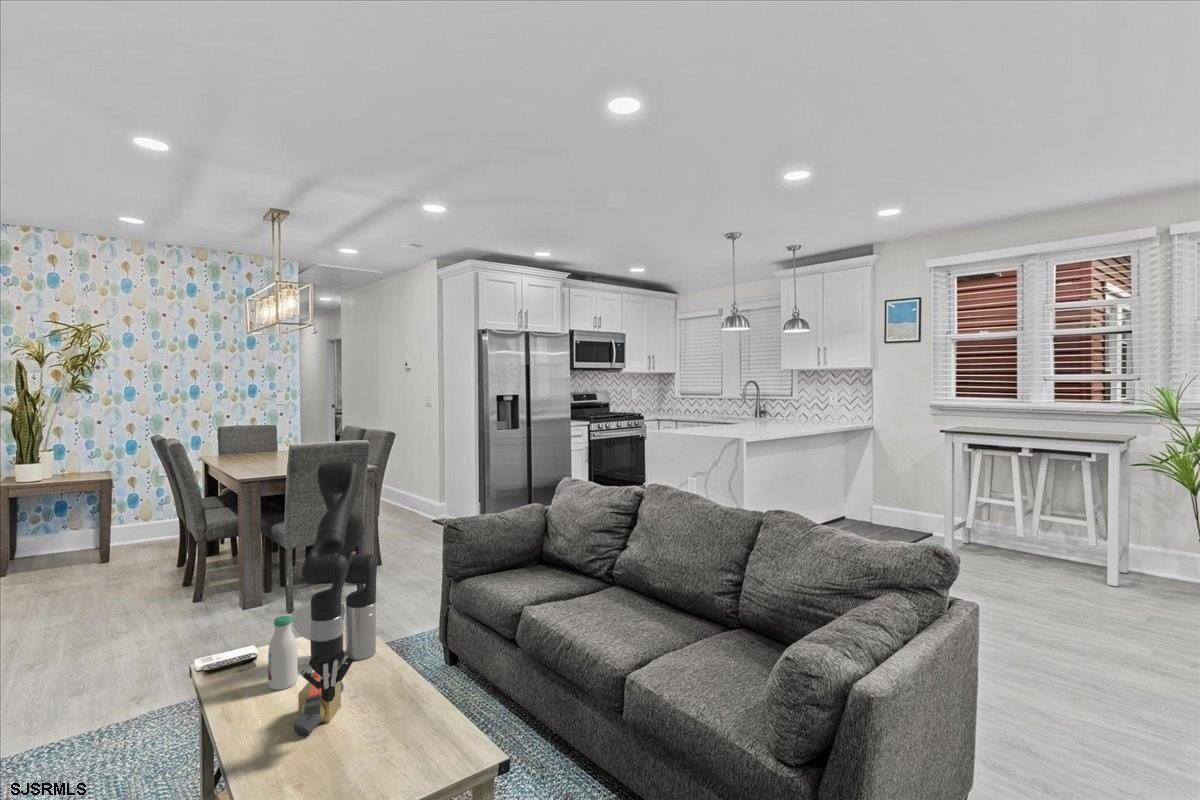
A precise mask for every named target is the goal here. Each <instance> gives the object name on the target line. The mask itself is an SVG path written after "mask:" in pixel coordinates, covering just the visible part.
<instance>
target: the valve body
mask: <svg viewBox="0 0 1200 800" xmlns="http://www.w3.org/2000/svg"><path fill="white" fill-rule="evenodd" d="M311 686H312V684H311V683H310V682H308V681H307V683H306V684H305V686H304V687H303V688H302V689H301V690H300V691H299V692H298V693H297V694H298V696H297V697H298V699H297V700H298V709H297V710H298V711H297V712H298V718H296V720H295V721H294V724H293V730H294V732H295V733H296V734H297V735H298V736H300V737H307V736H309V735H310V734H312V733H313V731H314V730H315V729H316V727H317V726H318V725H319V724H330V722H331V721H332V720H333V718H334V717H335V716H336V714H337V713H338V712H339V710H340V709H341V707H342V705H341V704H342V698H341V697H342V693H343V691H344V688H345V687H344V684H343V681H339V682H337V683H336V684H335V697H334V698H333V701H330V702H325V701H324V700H323V699H322V705H321V710H320V713H319V714H313V715H306V716H304V706H305V703H306V699H308V697H309V693H310V690H311Z"/></svg>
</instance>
